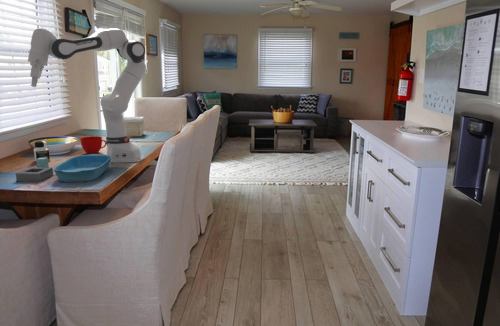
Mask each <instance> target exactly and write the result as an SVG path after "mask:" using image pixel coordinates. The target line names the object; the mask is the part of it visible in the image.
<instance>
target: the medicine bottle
mask: <svg viewBox="0 0 500 326" xmlns="http://www.w3.org/2000/svg"><path fill="white" fill-rule="evenodd" d="M33 154H34V155H33V156H34V161H35V162H36V159H38V158H48V162H50V161H51V158H50V156H51V155H50V150H49V148H47V141H45V140H37V141H35V142H34V148H33Z"/></svg>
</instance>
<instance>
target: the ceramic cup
mask: <svg viewBox="0 0 500 326" xmlns="http://www.w3.org/2000/svg"><path fill="white" fill-rule="evenodd" d="M79 140H80V145H81V148H82V150H83V151H84V152H85V153H86V155H92V154H98V153H99V152H100V151H101V149H104V148H105V147H107V143H106V140H104V139H103V137H102V136H84V137H81V138H80V139H79ZM103 142H104V145H103V146H102V144H103Z"/></svg>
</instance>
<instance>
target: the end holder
mask: <svg viewBox="0 0 500 326" xmlns="http://www.w3.org/2000/svg"><path fill="white" fill-rule="evenodd" d="M53 168H54V167H49V168H41V167H37V166H35V167H31V166H30V167H28V168H25V169H23V170H20V171H18V172H16V173H15V178H16V182H42V181H45V180H47V179H48V178H50V177H53V176H54V169H53Z"/></svg>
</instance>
